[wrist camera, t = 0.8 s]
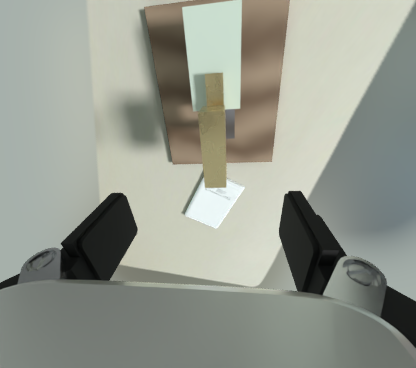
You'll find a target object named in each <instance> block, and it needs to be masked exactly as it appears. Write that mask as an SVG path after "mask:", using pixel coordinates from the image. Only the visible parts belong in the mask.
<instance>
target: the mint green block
mask: <svg viewBox="0 0 416 368" xmlns="http://www.w3.org/2000/svg"><path fill="white" fill-rule="evenodd" d="M182 12H183V21H184V31H185V40H186V50H187V59H188V68H189V78H190V87H191V97H192V106H193V111H199V110H200V109H201V108H202V107H203V106H207V99H206V85H205V74H211V73H223V87H224V105H225V109H240V88H241V24H242V0H233V1H225V2H218V3H210V4H202V5H195V6H187V7H182Z"/></svg>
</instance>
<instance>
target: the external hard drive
mask: <svg viewBox="0 0 416 368" xmlns="http://www.w3.org/2000/svg"><path fill="white" fill-rule="evenodd" d="M244 188H245V186H244V185H242V184H239V183H237V182H235V181H233V180H231V179H227V185H226V188H205V183H204V177H203V179H202V181H201V183H200V185H199V187H198V188H197V190H196V192H195V194H194V196H193V198H192V200H191V202H190V204H189V206H188V208H187V210H186V212H185V216H187V217H189V218H191V219H194V220H196V221H199V222H201V223H203V224H206V225H208V226H211V227H213V228H216V229H217V228H218V226H219V225H220V223H221V222H222V220H223V219H224V217H225V216H226V214H227V213H228V212H229V210H230V209H231V207H232V206H233V204H234V203H235V201H236V200H237V198H238V197H239V195H240V194H241V192H242V191H243V189H244Z"/></svg>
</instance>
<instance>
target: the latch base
mask: <svg viewBox="0 0 416 368" xmlns="http://www.w3.org/2000/svg"><path fill="white" fill-rule="evenodd" d="M225 1H233V0H193V1H186V2H178V3H171V4H163V5H156V6H149V7H144V9H145V15H146V20H147V26H148V31H149V36H150V42H151V47H152V53H153V58H154V64H155V69H156V75H157V80H158V86H159V91H160V96H161V102H162V107H163V113H164V118H165V124H166V129H167V135H168V140H169V146H170V151H171V156H172V162H173V164H203V162H202V152H201V141H200V130H199V120H198V112H199V111H193V106H192V97H191V87H190V78H189V68H188V59H187V50H186V40H185V31H184V21H183V12H182V7H187V6H195V5H202V4H210V3H218V2H225ZM289 2H290V0H242V24H241V88H240V109H225V119H226V163H240V162H272V155H273V146H274V137H275V128H276V119H277V110H278V101H279V92H280V83H281V74H282V65H283V56H284V47H285V38H286V29H287V20H288V11H289Z"/></svg>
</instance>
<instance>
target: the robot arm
mask: <svg viewBox="0 0 416 368" xmlns="http://www.w3.org/2000/svg"><path fill="white" fill-rule="evenodd" d="M136 234H137V226H136V223H135V220H134V217H133V214H132V211H131V208H130V206H129V203H128V200H127V197H126V196H125V195H124V194H123V193H111V194H110V195H109V196H108V197H107V198H106V199H105V200H104V201H103V202H102V203H101V204H100V205H99V206H98V207H97V208H96V209H95V210H94V211H93V212H92V213H91V214H90V215H89V216H88V217H87V218H86V219H85V220H84V221H83V222H82V223H81V224H80V225H79V226H78V227H77V228H76V229H75V230H74V231H73V232H72V233H71V234H70V235H69V236H68V237H67V238H66V239H65V240H64V241H63V242H62V243H61V245H62V246H63V248H62V249H61V250H59V249H58V248H48V249H45V250H43V251H41V252H38V253H37V254H35V255H33V256H32V257H31V258H29V259H28V260H27V261H26V262H25V263H24V265H23V266H22V268H21V272H20V274H18V275H16V276H14V277H11V278H9V279H7V280H5V281H3V282H1V283H0V368H416V301H414V300H412V299H410V298H408V297H407V296H405V295H403V294H401V293H399V292H398V291H396V290H394V289H392V288H390V287H389V286H387V281H386V278H385V276H384V274H383V273H382V272H381V271H380V270H379V269H378V268H377V267H376V266H374V265H373V264H372V263H370V262H368V261H366V260H364V259H362V258H359V257H354V256H347V255H346V254H345V252H344V251H343V249H342V248H341V246H340V245H339V243H338V242H337V240H336V239H335V237H334V236H333V234H332V233H331V231H330V230H329V228H328V227H327V225H326V224H325V222H324V221H323V219H322V218H321V217H320V216H319V215H316V214H315V212H314V211H313V209H312V208H311V206H310V205H309V203H308V201H307V200H306V198H305V197H304V195H303V194H302V192H301V191H289V192H288V194H285V196H284V202H283V208H282V215H281V221H280V227H279V236H280V239H281V242H282V245H283V248H284V251H285V254H286V257H287V260H288V264H289V266H290V270H291V272H292V276H293V279H294V281H295V285H296V288H297V291H287V290H274V289H260V288H244V287H226V286H207V285H188V284H187V285H186V284H168V283H148V282H126V281H109V280H110V278H111V277H112V275H113V273H114V272H115V270H116V268H117V266H118V265H119V263H120V261H121V260H122V258H123V256H124V255H125V253H126V251H127V249H128V248H129V246H130V244H131V243H132V241H133V239H134V237H135V236H136Z"/></svg>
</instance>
